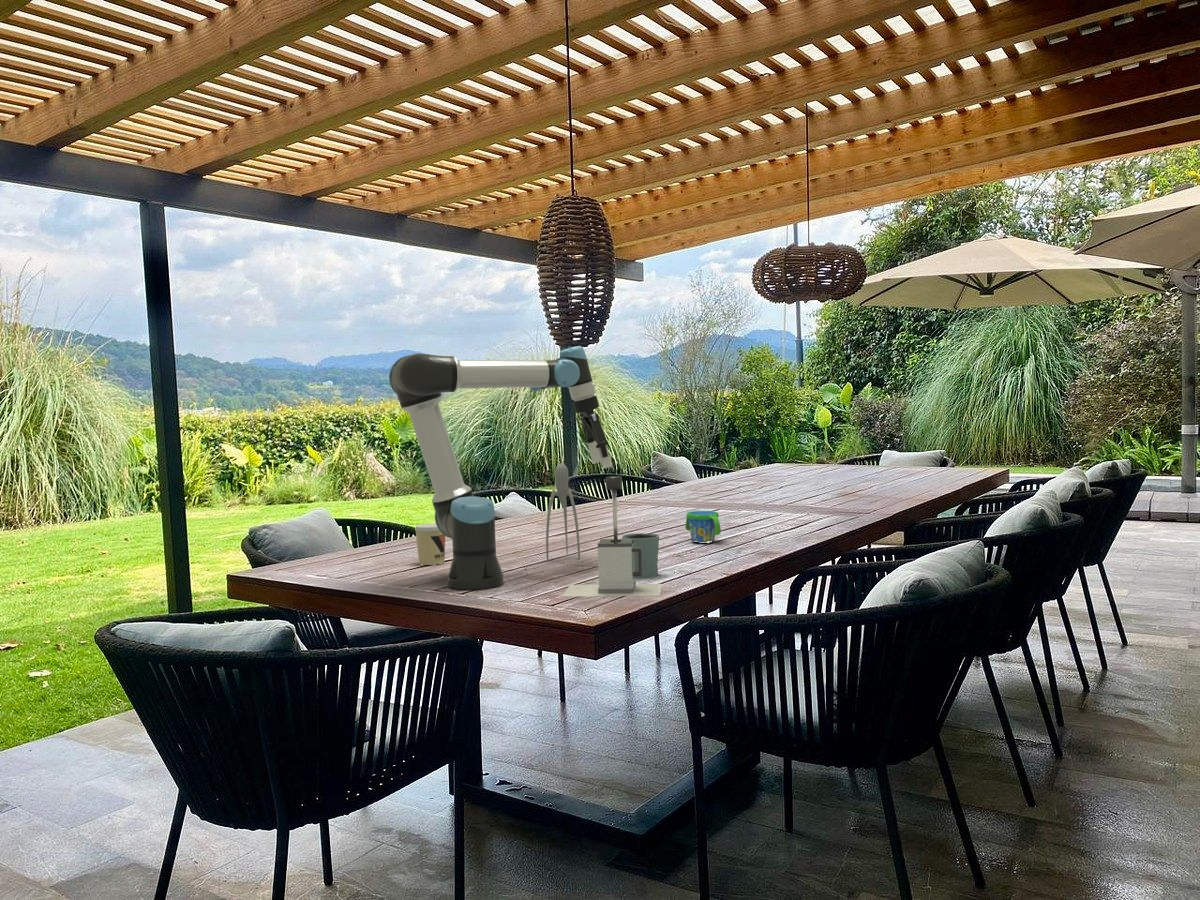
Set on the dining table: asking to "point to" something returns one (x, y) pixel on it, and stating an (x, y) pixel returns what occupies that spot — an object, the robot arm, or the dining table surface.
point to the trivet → (593, 591)
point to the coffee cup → (430, 544)
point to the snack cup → (703, 525)
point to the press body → (617, 565)
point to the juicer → (562, 503)
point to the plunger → (614, 499)
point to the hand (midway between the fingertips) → (602, 465)
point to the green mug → (646, 553)
